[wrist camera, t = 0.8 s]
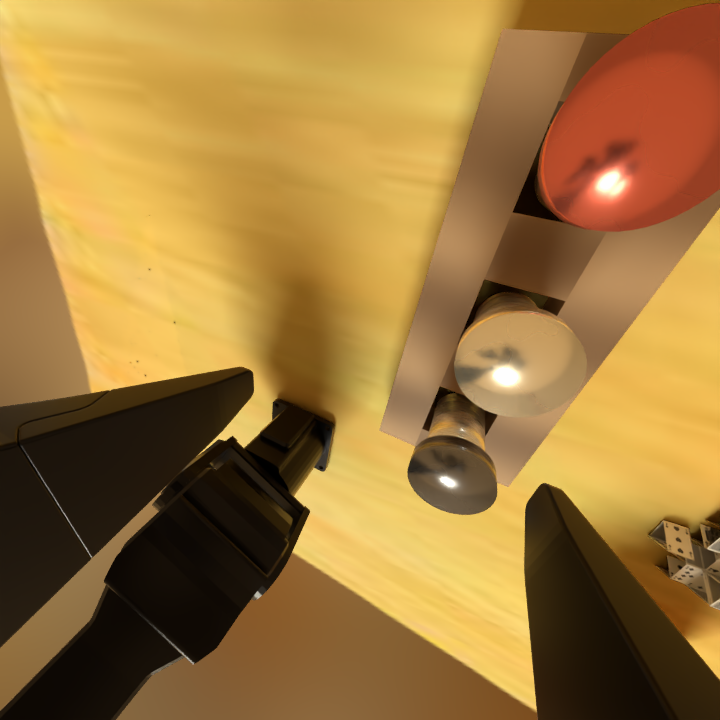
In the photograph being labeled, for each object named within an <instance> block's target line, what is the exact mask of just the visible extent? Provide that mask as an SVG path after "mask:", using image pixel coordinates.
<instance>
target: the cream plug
mask: <svg viewBox="0 0 720 720" xmlns="http://www.w3.org/2000/svg"><path fill="white" fill-rule="evenodd" d="M586 370H587V359H586V354H585V351H584V348H583V346H582V344H581V342H580V341H579V339H578V338H577V337H576V336H575V334H574V333H573V332H572V330H571V329H570V328H569V327H568V325H567V324H566V323H565V322H564V321H563V320H562V319H560V318H559V317H557V316H556V315H554V314H552V313H550V312H548V311H546V310H543V309H540V308H538V307H537V306H536V304H535V303H534V302H533V301H532V300H531V299H530V298H529V297H527V296H526V295H524V294H521V293H517V292H502V293H498V294H495V295H493V296H491V297H489V298H488V299H486V300H485V301H484V302H483V303H482V304H481V305H480V306H479V308H478V309H477V311H476V314H475V318H474V322H473V323H472V324H471V325H470V326H469V327H468V328H467V329H466V331H465V332H464V334H463V335H462V337H461V339H460V341H459V344H458V348H457V352H456V357H455V362H454V371H455V377H456V380H457V383H458V385H459V387H460V389H461V390H462V392H463V393H464V394H465V395H466V397H467V398H468V399H469V400H471V401H472V402H473V403H474V404H476V405H477V406H479V407H480V408H482V409H484V410H486V411H488V412H491V413H494V414H497V415H501V416H507V417H531V416H537V415H541V414H544V413H547V412H550V411H552V410H554V409H556V408H558V407H560V406H562V405H563V404H564V403H566V402H567V401H568V400H570V399H571V398H572V397H573V396H574V395H575V393H576V392H577V391H578V390H579V388H580V387H581V385H582V383H583V381H584V378H585V375H586Z"/></svg>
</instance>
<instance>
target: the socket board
mask: <svg viewBox="0 0 720 720" xmlns="http://www.w3.org/2000/svg"><path fill="white" fill-rule="evenodd" d="M627 36H629V35H626V34H605V33H584V32H563V31H541V30H520V29H502V32H501V35H500V38H499V42H498V45H497V48H496V51H495V55H494V58H493V61H492V64H491V68H490V71H489V74H488V77H487V81H486V84H485V87H484V90H483V94H482V97H481V100H480V104H479V107H478V110H477V113H476V117H475V120H474V123H473V126H472V130H471V133H470V136H469V139H468V143H467V146H466V149H465V152H464V156H463V159H462V162H461V165H460V169H459V172H458V175H457V179H456V182H455V185H454V188H453V192H452V195H451V198H450V201H449V205H448V208H447V211H446V214H445V218H444V221H443V224H442V227H441V231H440V234H439V237H438V240H437V244H436V247H435V250H434V254H433V257H432V260H431V263H430V267H429V270H428V273H427V276H426V280H425V283H424V286H423V289H422V293H421V296H420V299H419V302H418V306H417V309H416V312H415V315H414V319H413V322H412V325H411V329H410V332H409V335H408V338H407V342H406V345H405V348H404V351H403V355H402V358H401V361H400V364H399V368H398V371H397V374H396V377H395V381H394V384H393V387H392V390H391V394H390V397H389V400H388V404H387V407H386V410H385V413H384V417H383V420H382V423H381V426H380V430H379V431H382V432H384V433H386V434H389V435H391V436H393V437H395V438H398V439H400V440H402V441H404V442H407V443H409V444H411V445H414V446H417V445H418V444H419V443H420V442H421V441H423V440H424V439H427V437H428V434H429V430H430V427H431V423H432V419H433V416H434V412H435V408H432V407H431V406H432V404H433V401H434V399H435V396H436V394H437V392H438V389H439V387H440V386H441V387H443V388H446V389H449V390H451V391H454V392H456V393H459V394H462V395H464V396H466V395H465V394H464V393H463V392H462V390H461V389H460V387H459V385H458V383H457V380H456V377H455V371H454V362H455V357H456V352H457V348H458V344H459V341H460V339H461V337H462V335H463V334H464V332H465V331H466V330H464V327H465V325H466V322H467V320H468V317H469V315H470V313H471V310H472V308H473V305H474V303H475V301H476V298H477V296H478V293H479V291H480V289H481V286H482V284H483V281H484V279H485V280H489V281H492V282H496V283H500V284H503V285H507V286H511V287H515V288H518V289H522V290H526V291H530V292H533V293H537V294H541V295H545V296H548V297H549V298H548V300H547V302H546V303H545V305H544V307H543V310H546V311H548V312H550V313H552V314H554V315H556V316H557V317H559V318H560V319H562V320H563V321H564V322H565V323H566V324H567V325H568V327H569V328H570V329H571V330H572V332H573V333H574V334H575V336H576V337H577V338H578V339H579V341H580V342H581V344H582V346H583V348H584V351H585V354H586V359H587V370H586V375H585V378H584V381H583V383H582V385H581V387H580V388H579V390H578V391H577V392H576V393H575V395H574V396H573V397H572V398H571V399H570V400H568V401H567V402H566V403H564V404H563V405H562V406H560V407H558V408H556V409H554V410H552V411H550V412H547V413H544V414H541V415H537V416H531V417H507V416H501V415H497V414H494V413H491V412H488V411H485V452H486V453H487V454H488V455H489V456H490V458H491V459H492V461H493V463H494V465H495V468H496V474H497V482H498V483H500V484H502V485H504V486H507V487H509V485H510V484H511V483H512V481H513V480H514V479H515V477H516V476H517V475H518V473H519V472H520V471H521V469H522V468H523V467H524V466H525V464H526V463H527V462H528V460H529V459H530V458H531V456H532V455H533V454H534V452H535V451H536V450H537V448H538V447H539V446H540V444H541V443H542V442H543V440H544V439H545V438H546V436H547V435H548V434H549V432H550V431H551V430H552V429H553V427H554V426H555V425H556V423H557V422H558V421H559V419H560V418H561V417H562V415H563V414H564V413H565V411H566V410H567V409H568V407H569V406H570V405H571V403H572V402H573V401H574V399H575V398H576V397H577V395H578V394H579V393H580V392H581V390H582V389H583V388H584V386H585V385H586V384H587V382H588V381H589V380H590V378H591V377H592V376H593V374H594V373H595V372H596V370H597V369H598V368H599V366H600V365H601V364H602V362H603V361H604V360H605V358H606V357H607V356H608V355H609V353H610V352H611V351H612V349H613V348H614V347H615V345H616V344H617V343H618V341H619V340H620V339H621V337H622V336H623V335H624V333H625V332H626V331H627V329H628V328H629V327H630V325H631V324H632V323H633V321H634V320H635V319H636V318H637V316H638V315H639V314H640V312H641V311H642V310H643V308H644V307H645V306H646V304H647V303H648V302H649V300H650V299H651V298H652V296H653V295H654V294H655V292H656V291H657V290H658V288H659V287H660V286H661V284H662V283H663V282H664V281H665V279H666V278H667V277H668V275H669V274H670V273H671V271H672V270H673V269H674V267H675V266H676V265H677V263H678V262H679V261H680V259H681V258H682V257H683V255H684V254H685V253H686V251H687V250H688V249H689V248H690V246H691V245H692V244H693V242H694V241H695V240H696V238H697V237H698V236H699V234H700V233H701V232H702V230H703V229H704V228H705V226H706V225H707V224H708V222H709V221H710V220H711V218H712V217H713V216H714V214H715V213H716V212H717V211H718V209H719V208H720V189H719V190H718V191H716V192H715V193H714V194H712V195H711V196H710V197H708V198H707V199H706V200H704V201H702V202H701V203H699V204H698V205H696V206H694V207H693V208H691V209H689V210H687V211H685V212H683V213H682V214H680V215H678V216H676V217H673V218H671V219H668V220H666V221H664V222H661V223H658V224H655V225H652V226H648V227H645V228H640V229H635V230H630V231H620V232H606V231H594V230H586V229H581V228H578V227H574V226H572V225H570V224H567V223H563V222H558V221H553V220H548V219H543V218H538V217H533V216H528V215H524V214H519V213H514V212H513V209H514V207H515V205H516V202H517V200H518V197H519V195H520V193H521V190H522V188H523V185H524V183H525V181H526V178H527V176H528V173H529V171H530V169H531V166H532V164H533V161H534V159H535V157H536V154H537V152H538V149H539V147H540V145H541V142H542V140H543V137H544V135H545V133H546V130H547V128H548V125H549V124H551V123H552V121H553V120H554V118H555V116H556V115H557V113H558V111H559V110H560V108H561V107H562V105H563V104H564V102H565V100H566V99H567V97H568V96H569V94H570V93H571V92H572V90H573V89H574V88H575V86H576V85H577V83H578V82H579V81H580V80H581V79H582V77H583V76H584V75H585V74H586V73H587V72H588V70H589V69H590V68H591V67H592V66H593V65H594V64H595V63H596V62H597V61H598V60H599V59H600V58H601V57H602V56H603V55H604V54H606V53H607V52H608V51H609V50H610V49H612V48H613V47H614V46H615V45H616V44H618V43H619V42H620V41H622V40H623V39H625V38H626V37H627Z"/></svg>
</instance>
